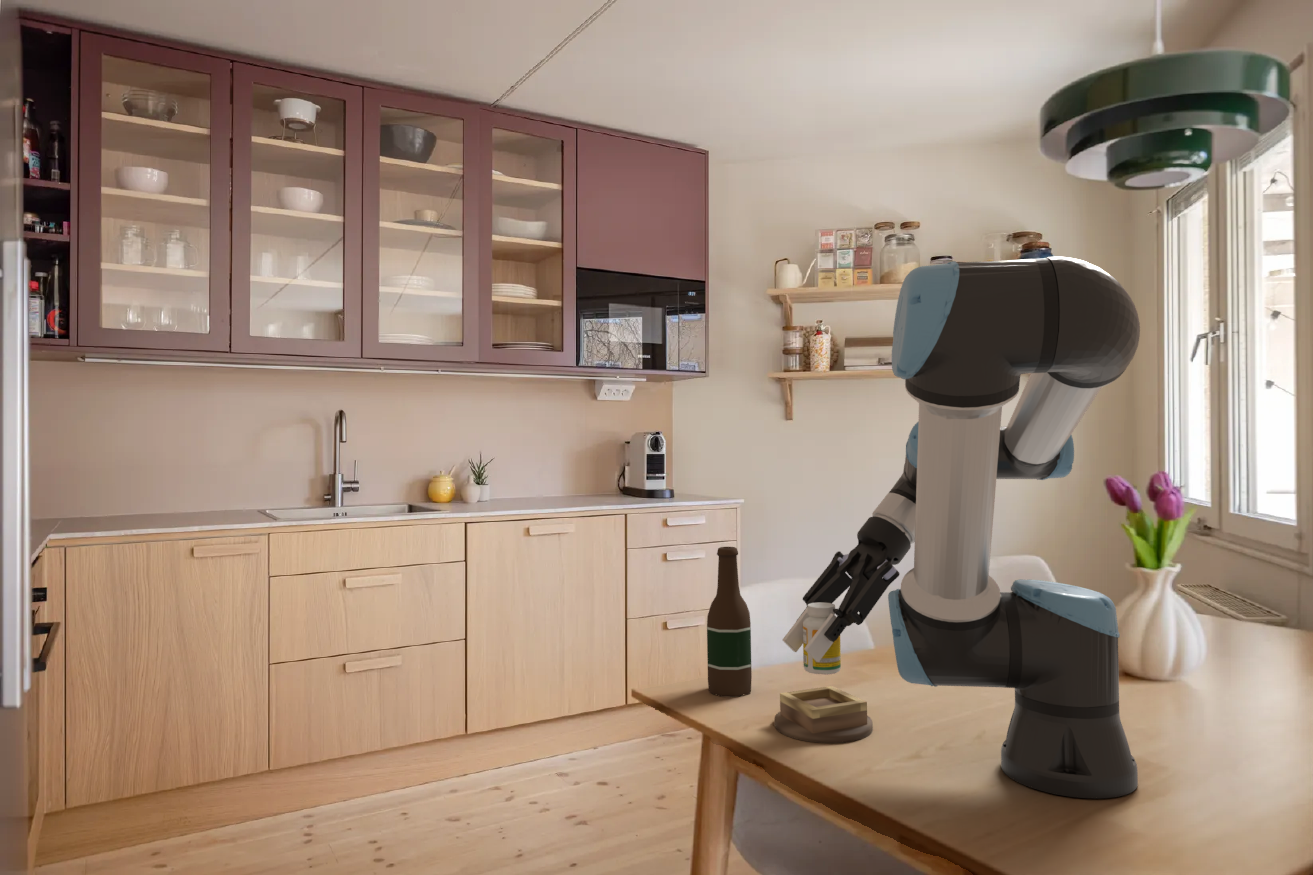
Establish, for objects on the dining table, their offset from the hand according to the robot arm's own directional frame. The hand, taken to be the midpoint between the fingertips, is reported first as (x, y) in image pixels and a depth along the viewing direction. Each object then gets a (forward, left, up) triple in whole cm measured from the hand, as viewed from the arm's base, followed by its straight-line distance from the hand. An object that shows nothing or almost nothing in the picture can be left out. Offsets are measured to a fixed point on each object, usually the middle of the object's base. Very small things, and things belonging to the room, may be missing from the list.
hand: (800, 650), depth 125 cm
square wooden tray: (0, -3, -11) cm, 12 cm away
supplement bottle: (0, -4, -3) cm, 5 cm away
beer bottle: (+22, +1, -11) cm, 24 cm away
